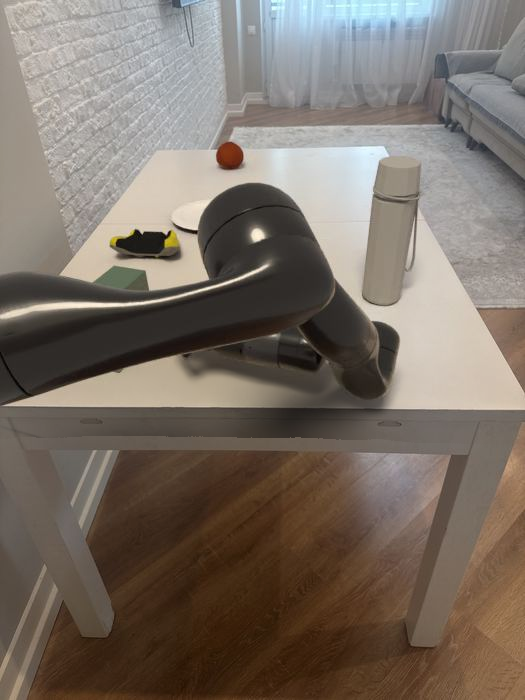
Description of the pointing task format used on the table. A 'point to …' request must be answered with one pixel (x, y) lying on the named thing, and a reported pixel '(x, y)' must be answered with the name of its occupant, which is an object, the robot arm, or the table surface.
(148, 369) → the table surface
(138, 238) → the toy running shoe
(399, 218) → the water bottle
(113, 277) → the block
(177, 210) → the plate
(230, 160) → the fruit
